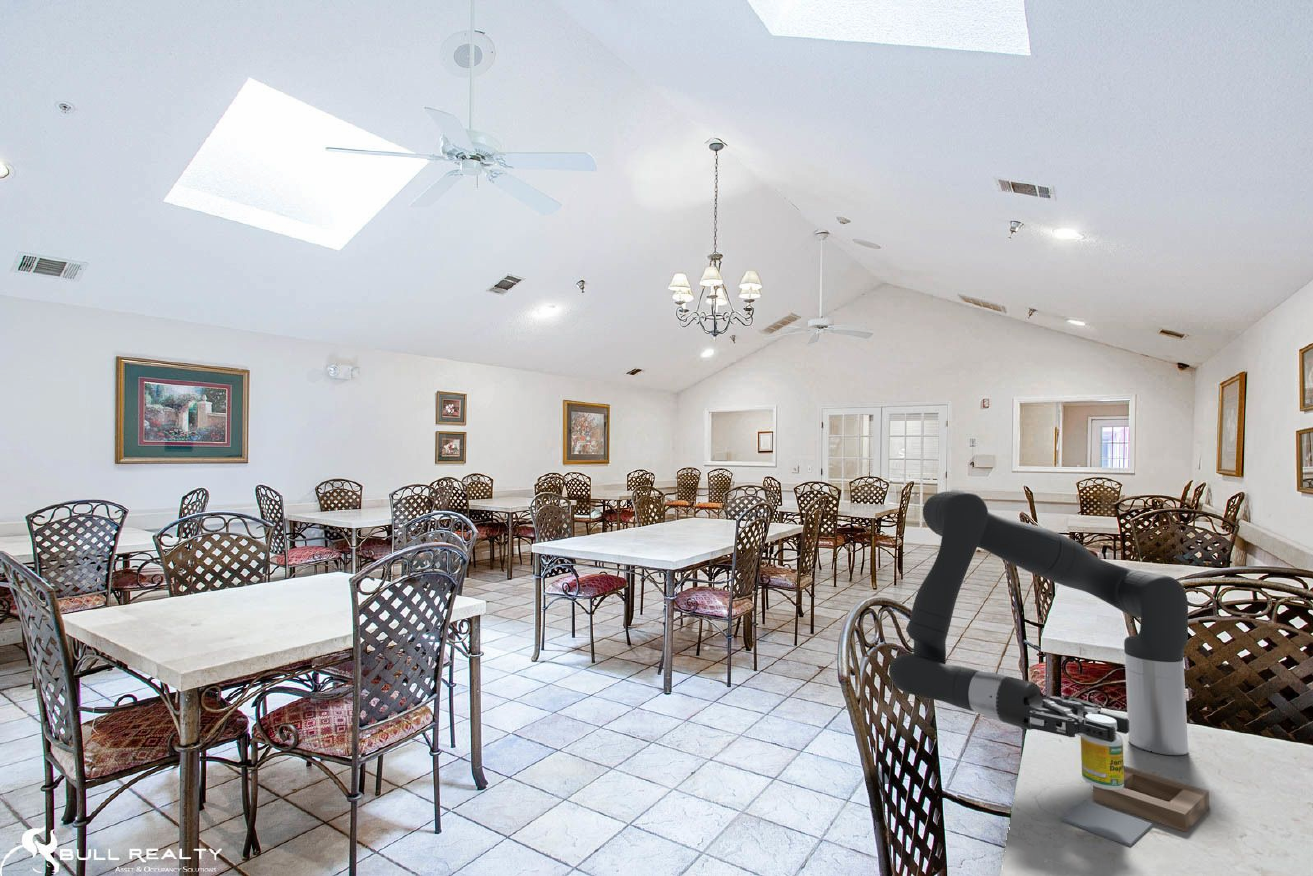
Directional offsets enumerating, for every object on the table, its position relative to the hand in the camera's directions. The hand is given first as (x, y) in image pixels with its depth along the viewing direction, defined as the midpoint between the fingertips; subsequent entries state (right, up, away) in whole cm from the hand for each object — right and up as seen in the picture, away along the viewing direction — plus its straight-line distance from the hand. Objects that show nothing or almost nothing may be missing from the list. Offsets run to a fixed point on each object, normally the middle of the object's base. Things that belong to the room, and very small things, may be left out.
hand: (1121, 730), depth 98 cm
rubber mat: (-1, -15, +1) cm, 15 cm away
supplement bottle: (-2, -9, +2) cm, 9 cm away
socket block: (+10, -15, +7) cm, 19 cm away
